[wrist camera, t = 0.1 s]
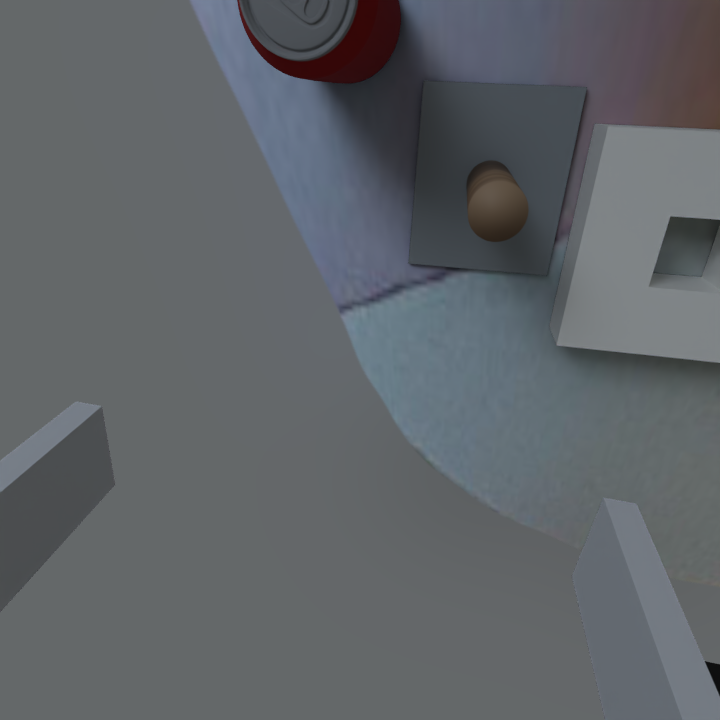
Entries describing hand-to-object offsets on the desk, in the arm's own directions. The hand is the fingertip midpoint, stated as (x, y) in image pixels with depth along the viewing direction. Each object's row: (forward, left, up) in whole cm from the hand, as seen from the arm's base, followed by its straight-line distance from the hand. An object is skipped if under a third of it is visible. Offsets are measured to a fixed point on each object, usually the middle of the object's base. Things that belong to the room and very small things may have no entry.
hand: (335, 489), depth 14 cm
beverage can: (-13, -5, -28) cm, 31 cm away
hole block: (-1, +18, -28) cm, 33 cm away
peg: (-4, +5, -27) cm, 28 cm away
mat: (-4, +5, -28) cm, 28 cm away
